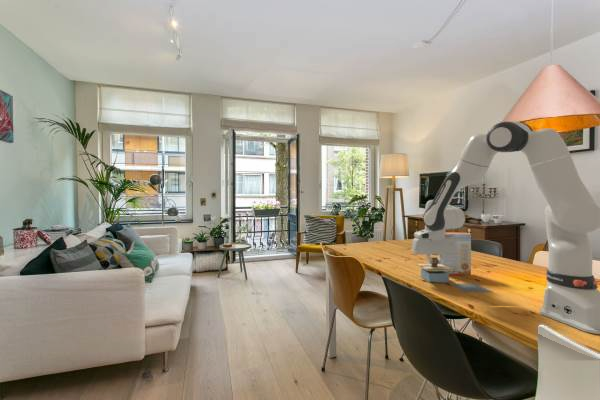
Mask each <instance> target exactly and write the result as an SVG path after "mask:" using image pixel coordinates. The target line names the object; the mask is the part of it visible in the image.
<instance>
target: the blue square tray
mask: <svg viewBox="0 0 600 400" xmlns="http://www.w3.org/2000/svg"><path fill="white" fill-rule="evenodd" d="M420 278H421V279H423V280H424V281H426V282H427V283H430V284H439V283H441V284H446V283H447V284H448V283H449V284H450V275H449V273H447V272H445V271H427V270H425V269H423V268H420Z"/></svg>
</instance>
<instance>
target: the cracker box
mask: <svg viewBox="0 0 600 400" xmlns="http://www.w3.org/2000/svg"><path fill="white" fill-rule="evenodd" d="M445 234H454V235H456V237H457V248H458V252H457V254H444V257H443V259H442V260H441V264H442V265H444V266H446V267H448V268H450V269H452V271H445V272H447V273H449V276H472V233H468V232H448V231H447V232H446V231H445ZM439 257H440V256H439V254H437V258H439Z"/></svg>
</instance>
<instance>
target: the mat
mask: <svg viewBox="0 0 600 400" xmlns="http://www.w3.org/2000/svg"><path fill="white" fill-rule="evenodd" d="M450 285H451V286H452V287H454V288H456V289H458V290H459V291H462V292H463V293H467V294H468V293H493V291H492V290H490V289H488V288H486V287H484V286H482V285H480V284H478V283H476V282H475V283H450Z"/></svg>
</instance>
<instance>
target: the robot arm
mask: <svg viewBox="0 0 600 400" xmlns="http://www.w3.org/2000/svg"><path fill="white" fill-rule="evenodd" d="M514 152H521V153H524V155H525V156H526V159H527V160H528V163H529V165H530V169H531V172H532V174H533V177H534V180H535V182H536V185H537V187H538V189H539V190H540V192H541V193H542V195H543V196H544V198H545V200H546V202H547V205H546V206H545V208H544V210H543V215H544V220H545V230H546V238H547V239H546V240H547V245H548V267H547V269H546V273H545V276H546V277H545V278H546V279H545V280H546V281H547V283H546V284H547V285H546V286H545V287H546V288H545V289H544V294H543V300H542V305H541V309H540V310H539V314H540V315H542V316H545V317H548V318H549V319H552V320H555V321H557V322H560V323H563V324H565V325H567V326H570V327H573V328H574V329H578V330H579V331H583V332H585V333H589V334H593V335H594V334H596V335H600V290H599V289H598V287H599V286H598V285H600V280H596V278H595V276H594V275H593V257H594V256H593V249H592V247H591V244H590V240H589V236H588V233H592V232H594V231H597V230H598V229H599V228H600V206H599V205H598V204H597V203H596V201H595V200H594V198H593V196H592V194H591V192H590V191H589V190H588V188H587V186H586V185H585V183H584V182H583V180H582V178H581V177H580V175H579V172H578V170H577V168H576V165H575V163H574V160H573V157H572V154H571V153H570V150H569V148H568V146H567V144H566V142H565V141H564V139H563V137H562V136H561V135H560V133H559V132H558V131H557V130H556V129H553V128H540V129H537V130H533V129H532V127H531V125H529V124H527V123H525V122H521V121H520V122H519V121H515V120H510V121H509V120H508V121H500V122H498V123H496V124H494V125H493V126H492V127H491V128H490V129H489V130H488V132H487V133H477V134H474V135H472V136H470V138H469V140H468V142H467V143H466V145H465V146H464V148H463V150H462V152H461V154H460V157H459V159H458V161H457V163H456V165H455V166H454V168H453V169H452V170H451V172H450V173H448V175H446V177H445V178H444V180H443V181H442V183H441V185H440V187H439V189H438V191H437V193H436V195H435V196H434V198H433V199H429V200H428V201H427V202H426V203H425V210H424V213H423V216H422V221H423V223H424V229H421V230H419V231H415V232H414V233H413V236H414V238H413V239H412V244H411V252H412V253H413V254H415V255H425V258H426V259H427V264H433V260H431V255H438V254H439V256H440V257H439V258H438V257H437V258H438V262H437V264H441V260H442V259H443V257H444V254H457V252H458V248H457V237H456V235H454V234H445V232H446V230H456V229H457V230H458V229H460V228H462V227H463V226H464V225H465V223H466V213H465V212H464V211H463V209H462V208H460V207H456V206H454V205H452V204H450V203H451V202H452V200H453V198H454V196H455V195H456V193H458V192H459V191H460V190H462V189H463V188H466V187H468V186H472V185H474V184H477V183H478V182H480V181H482V180H483V179H484V177H485V176H486V175H487V173H488V170H489V168H490V165H491V164H492V161H493V159H494V157H495V156H496V155H497V154H498V153H514Z"/></svg>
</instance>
